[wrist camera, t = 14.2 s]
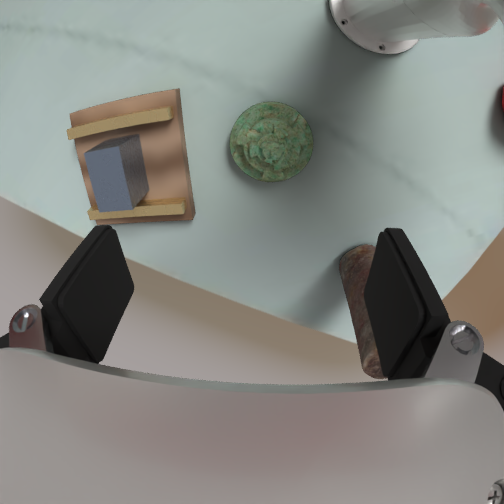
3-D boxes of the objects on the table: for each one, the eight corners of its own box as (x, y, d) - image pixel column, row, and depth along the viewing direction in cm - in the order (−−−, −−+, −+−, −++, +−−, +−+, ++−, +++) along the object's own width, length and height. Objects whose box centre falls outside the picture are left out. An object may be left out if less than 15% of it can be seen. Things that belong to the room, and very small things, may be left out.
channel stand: (77, 111, 33) (61, 117, 29) (179, 88, 32) (169, 90, 28) (102, 218, 43) (91, 231, 40) (195, 213, 42) (189, 227, 39)
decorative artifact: (320, 160, 37) (293, 90, 32) (331, 179, 31) (299, 94, 26) (251, 185, 39) (219, 119, 34) (248, 208, 34) (209, 130, 29)
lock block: (106, 139, 34) (83, 153, 29) (139, 133, 33) (118, 146, 28) (118, 192, 38) (99, 212, 33) (149, 189, 38) (132, 209, 33)
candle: (345, 284, 49) (370, 386, 32) (329, 254, 45) (355, 362, 29) (385, 266, 46) (426, 364, 30) (372, 233, 43) (420, 335, 26)
